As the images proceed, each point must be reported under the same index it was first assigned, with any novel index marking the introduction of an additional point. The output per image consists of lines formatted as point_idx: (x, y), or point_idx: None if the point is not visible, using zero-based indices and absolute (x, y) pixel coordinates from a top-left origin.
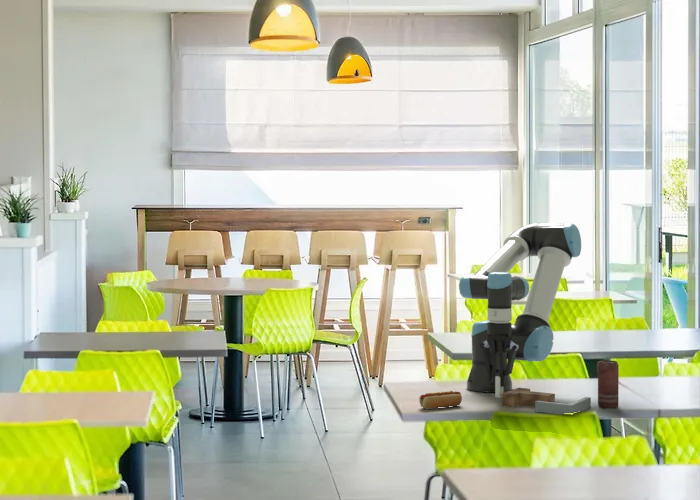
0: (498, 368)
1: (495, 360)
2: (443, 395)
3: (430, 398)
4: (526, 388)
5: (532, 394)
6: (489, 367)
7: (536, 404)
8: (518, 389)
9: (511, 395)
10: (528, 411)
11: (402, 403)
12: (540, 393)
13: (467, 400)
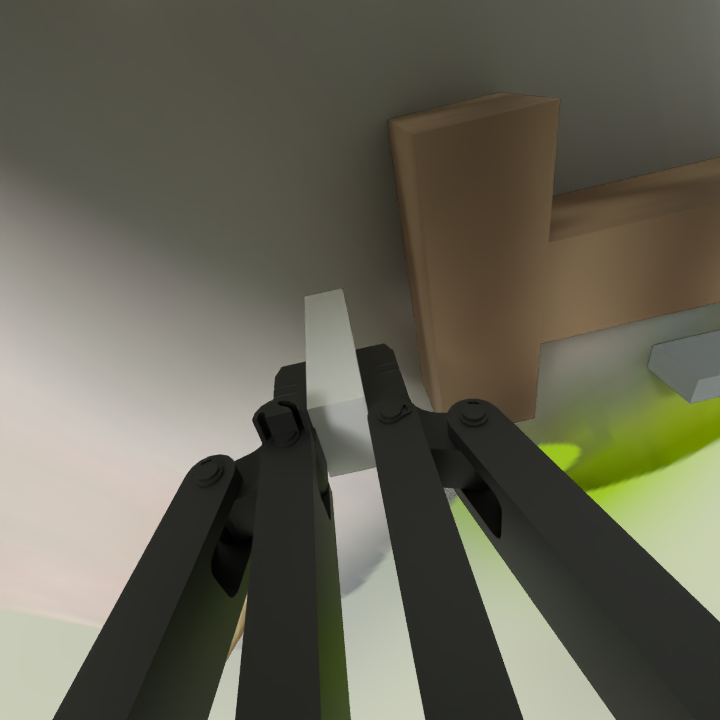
0: (319, 498)
1: (344, 680)
2: (240, 622)
3: (233, 648)
4: (515, 115)
5: (652, 314)
6: (248, 579)
7: (684, 390)
8: (468, 232)
9: (515, 417)
10: (610, 386)
11: (40, 607)
12: (717, 255)
13: (140, 398)
